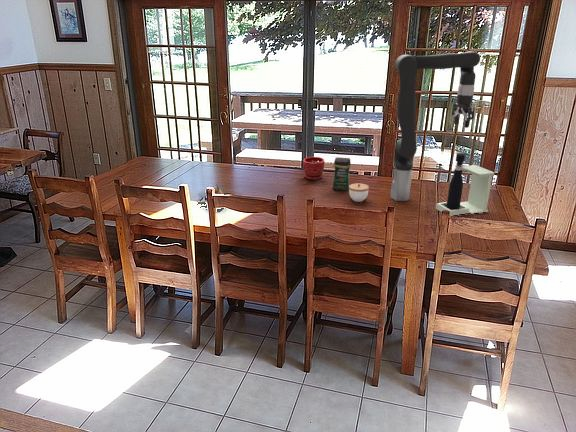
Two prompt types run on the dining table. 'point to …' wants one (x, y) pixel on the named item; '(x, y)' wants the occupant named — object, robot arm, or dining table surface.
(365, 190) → the lidded jar
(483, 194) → the sage socket stand
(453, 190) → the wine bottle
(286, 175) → the dining table surface
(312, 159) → the plant pot
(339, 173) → the coffee jar
